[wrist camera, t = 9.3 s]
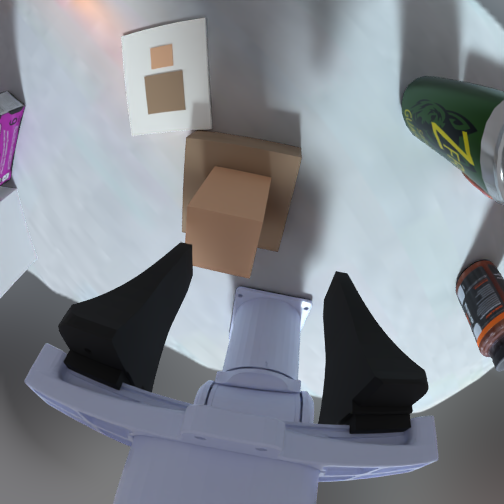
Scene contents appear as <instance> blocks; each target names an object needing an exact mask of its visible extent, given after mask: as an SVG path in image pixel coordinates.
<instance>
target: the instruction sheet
mask: <svg viewBox="0 0 504 504" xmlns="http://www.w3.org/2000/svg"><path fill="white" fill-rule="evenodd" d="M121 39H122V55H123V68H124V79H125V88H126V97H127V105H128V113H129V120H130V127H131V133H132V136H138V135H146V134H155V133H164V132H175V131H188V130H204V129H212V115H211V100H210V84H209V67H208V48H207V25H206V18H199V19H193V20H187V21H181V22H176V23H171V24H167V25H162V26H158V27H154V28H150V29H146V30H142V31H139V32H135V33H132V34H128V35H125V36H122V37H121Z"/></svg>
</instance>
